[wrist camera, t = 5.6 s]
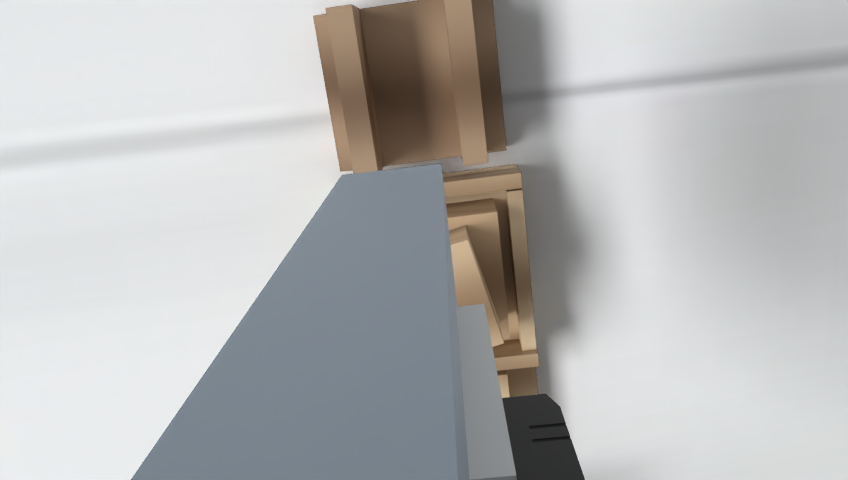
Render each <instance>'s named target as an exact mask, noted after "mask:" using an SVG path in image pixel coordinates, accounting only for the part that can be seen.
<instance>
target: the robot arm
mask: <svg viewBox="0 0 848 480" xmlns="http://www.w3.org/2000/svg"><path fill="white" fill-rule="evenodd" d="M456 314H457V327H458V340H459V352H460V365H461V378H462V390H463V403H464V416H465V428H466V441H467V454H468V466H469V479H470V480H585V479H584V476H583V473H582V470H581V467H580V464H579V461H578V458H577V455H576V452H575V449H574V446H573V444H572V441H571V439H570V435H569V432H568V429H567V426H566V424H565V420H564V417H563V414H562V411H561V408H560V406H559V405H557V404H556V403H555V402H554V401H553V400H552V399H551V398H550V397H549V396H547V395H546V394H538V395H527V396H517V397H506V398H502V396H501V390H500V385H499V380H498V374H497V369H496V364H495V358H494V353H493V347H492V342H491V337H490V331H489V326H488V321H487V315H486V310H485V305H484V304H478V305H468V306H458V307H456Z"/></svg>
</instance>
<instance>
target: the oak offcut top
mask: <svg viewBox="0 0 848 480" xmlns="http://www.w3.org/2000/svg"><path fill="white" fill-rule="evenodd" d="M449 236H450V245H451V254H452V263H453V271H454V280H455V289H456V298H457V307H458V306H468V305H478V304H484V305H485V310H486V315H487V321H488V326H489V331H490V337H491V342H492V347H494V346H497V345H500V344H504V341H503V337H502V332H501V327H500V323H499V320H498V317H497V314H496V311H495V308H494V305H493V302H492V299H491V297H490V294H489V291H488V288H487V285H486V282H485V279H484V277H483V274H482V271H481V268H480V265H479V262H478V259H477V256H476V254H475V251H474V248H473V245H472V242H471V239H470V236H469V234H468V231H467V228H466V225H464V226H461V227H458V228H455V229H452V230H449Z"/></svg>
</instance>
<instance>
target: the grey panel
mask: <svg viewBox="0 0 848 480" xmlns="http://www.w3.org/2000/svg"><path fill="white" fill-rule="evenodd" d="M456 307H457V298H456V289H455V280H454V271H453V263H452V254H451V245H450V236H449V227H448V218H447V209H446V201H445V192H444V183H443V174H442V165H441V164H433V165H424V166H416V167H407V168H398V169H390V170H381V171H373V172H364V173H355V174H347V175H342V176H341V177H340V179H339V180H338V182H337V183H336V185H335V186H334V187H333V189H332V190H331V192H330V193H329V195H328V196H327V198H326V199H325V200H324V202H323V203H322V205H321V206H320V208H319V209H318V211H317V212H316V213H315V215H314V216H313V218H312V219H311V221H310V222H309V224H308V225H307V226H306V228H305V229H304V231H303V232H302V234H301V235H300V237H299V238H298V239H297V241H296V242H295V244H294V245H293V247H292V248H291V249H290V251H289V252H288V254H287V255H286V257H285V258H284V260H283V261H282V262H281V264H280V265H279V267H278V268H277V270H276V271H275V273H274V274H273V275H272V277H271V278H270V280H269V281H268V283H267V284H266V286H265V287H264V288H263V290H262V291H261V293H260V294H259V296H258V297H257V299H256V300H255V301H254V303H253V304H252V306H251V307H250V309H249V310H248V312H247V313H246V314H245V316H244V317H243V319H242V320H241V322H240V323H239V325H238V326H237V327H236V329H235V330H234V332H233V333H232V335H231V336H230V338H229V339H228V340H227V342H226V343H225V345H224V346H223V348H222V349H221V351H220V352H219V353H218V355H217V356H216V358H215V359H214V361H213V362H212V364H211V365H210V366H209V368H208V369H207V371H206V372H205V374H204V375H203V377H202V378H201V379H200V381H199V382H198V384H197V385H196V387H195V388H194V390H193V391H192V392H191V394H190V395H189V397H188V398H187V400H186V401H185V403H184V404H183V405H182V407H181V408H180V410H179V411H178V413H177V414H176V416H175V417H174V418H173V420H172V421H171V423H170V424H169V426H168V427H167V428H166V430H165V431H164V433H163V434H162V436H161V437H160V439H159V440H158V441H157V443H156V444H155V446H154V447H153V449H152V450H151V452H150V453H149V454H148V456H147V457H146V459H145V460H144V462H143V463H142V465H141V466H140V467H139V469H138V470H137V472H136V473H135V475H134V476H133V478H132V479H131V480H470V479H469V466H468V454H467V441H466V428H465V416H464V403H463V390H462V378H461V365H460V352H459V340H458V327H457V314H456Z"/></svg>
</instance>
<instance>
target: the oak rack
mask: <svg viewBox="0 0 848 480" xmlns="http://www.w3.org/2000/svg"><path fill="white" fill-rule="evenodd" d="M443 183H444V192H445V201H446V204H449V203H457V202H465V201H473V200H481V199H489V198H493V201H494V204H495V207H496V210H497V214H498V224H499V234H500V243H501V253H502V263H503V273H504V283H505V293H506V303H507V312H508V322H509V332H510V339H503V341H504V344H500V345H497V346H494V347H493V353H494V358H495V364H496V369H497V374H498V380H499V385H500V390H501V396H502V398H506V397H517V396H527V395H538V390H537V379H536V368H535V367H538V366H539V360H538V352H537V348H536V337H535V325H534V314H533V303H532V291H531V280H530V269H529V257H528V246H527V235H526V223H525V212H524V201H523V190H522V178H521V172H520V171H519V169H518V167H517V166H516V164H514V165H506V166H498V167H490V168H482V169H474V170H466V171H459V172H451V173H443Z"/></svg>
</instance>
